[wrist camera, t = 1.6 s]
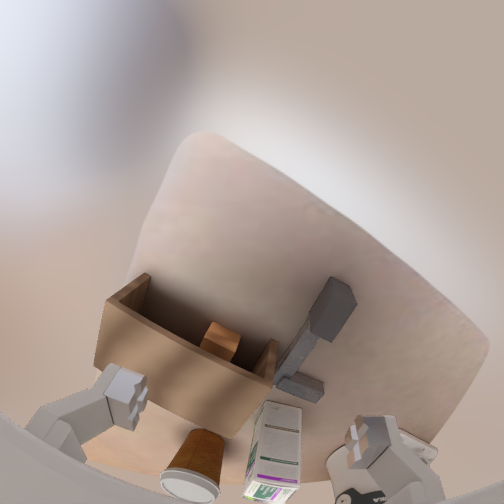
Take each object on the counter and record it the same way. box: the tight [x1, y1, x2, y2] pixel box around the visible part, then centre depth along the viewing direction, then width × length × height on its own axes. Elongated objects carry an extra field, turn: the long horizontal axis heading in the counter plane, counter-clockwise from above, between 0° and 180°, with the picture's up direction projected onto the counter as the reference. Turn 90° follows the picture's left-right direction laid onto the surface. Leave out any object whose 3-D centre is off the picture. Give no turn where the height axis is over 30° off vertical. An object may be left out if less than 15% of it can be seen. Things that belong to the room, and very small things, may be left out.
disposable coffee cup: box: [160, 429, 224, 504], centre depth 38 cm, size 10×10×12 cm
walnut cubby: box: [94, 273, 279, 439], centre depth 33 cm, size 19×10×9 cm, turn 65°
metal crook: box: [273, 277, 357, 403], centre depth 33 cm, size 7×16×5 cm, turn 155°
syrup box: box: [242, 401, 302, 504], centre depth 33 cm, size 6×6×14 cm
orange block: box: [199, 321, 241, 362], centre depth 35 cm, size 4×4×4 cm
